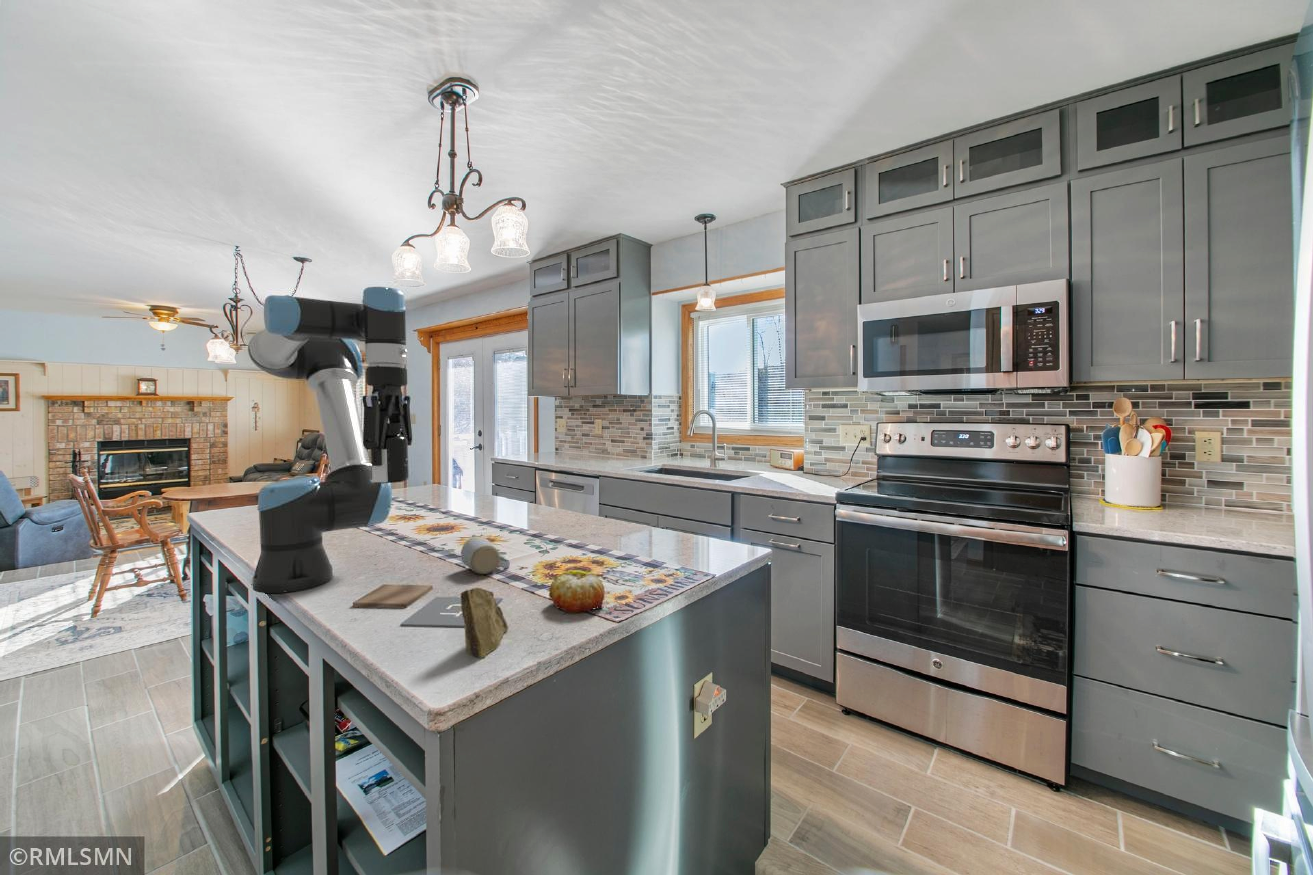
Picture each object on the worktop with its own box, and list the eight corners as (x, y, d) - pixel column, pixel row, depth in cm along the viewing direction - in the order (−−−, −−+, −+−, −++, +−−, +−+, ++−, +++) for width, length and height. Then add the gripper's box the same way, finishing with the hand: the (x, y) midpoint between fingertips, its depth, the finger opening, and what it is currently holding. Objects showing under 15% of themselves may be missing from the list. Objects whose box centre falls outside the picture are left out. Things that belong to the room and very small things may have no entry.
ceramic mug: (471, 578, 127) (470, 545, 127) (460, 569, 134) (460, 538, 134) (515, 570, 134) (515, 539, 133) (503, 562, 140) (503, 532, 140)
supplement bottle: (415, 480, 115) (414, 422, 114) (384, 484, 109) (382, 423, 108) (396, 477, 119) (394, 421, 118) (364, 482, 113) (362, 423, 112)
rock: (493, 610, 102) (442, 619, 94) (513, 578, 99) (463, 585, 91) (519, 660, 96) (468, 674, 88) (542, 627, 93) (491, 639, 85)
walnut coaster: (352, 606, 110) (352, 602, 110) (383, 587, 121) (383, 584, 121) (406, 607, 109) (406, 603, 109) (432, 588, 120) (432, 585, 120)
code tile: (400, 625, 101) (400, 623, 101) (436, 598, 115) (436, 596, 115) (475, 627, 100) (475, 625, 100) (502, 599, 114) (502, 597, 114)
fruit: (537, 610, 107) (542, 567, 109) (563, 607, 116) (567, 568, 118) (589, 616, 103) (593, 572, 105) (612, 613, 113) (615, 572, 114)
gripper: (376, 363, 102) (381, 487, 104) (427, 368, 122) (431, 472, 123) (337, 363, 103) (342, 486, 104) (394, 368, 122) (398, 472, 124)
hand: (390, 479), depth 114 cm, fingers closed on supplement bottle, 7 cm apart
